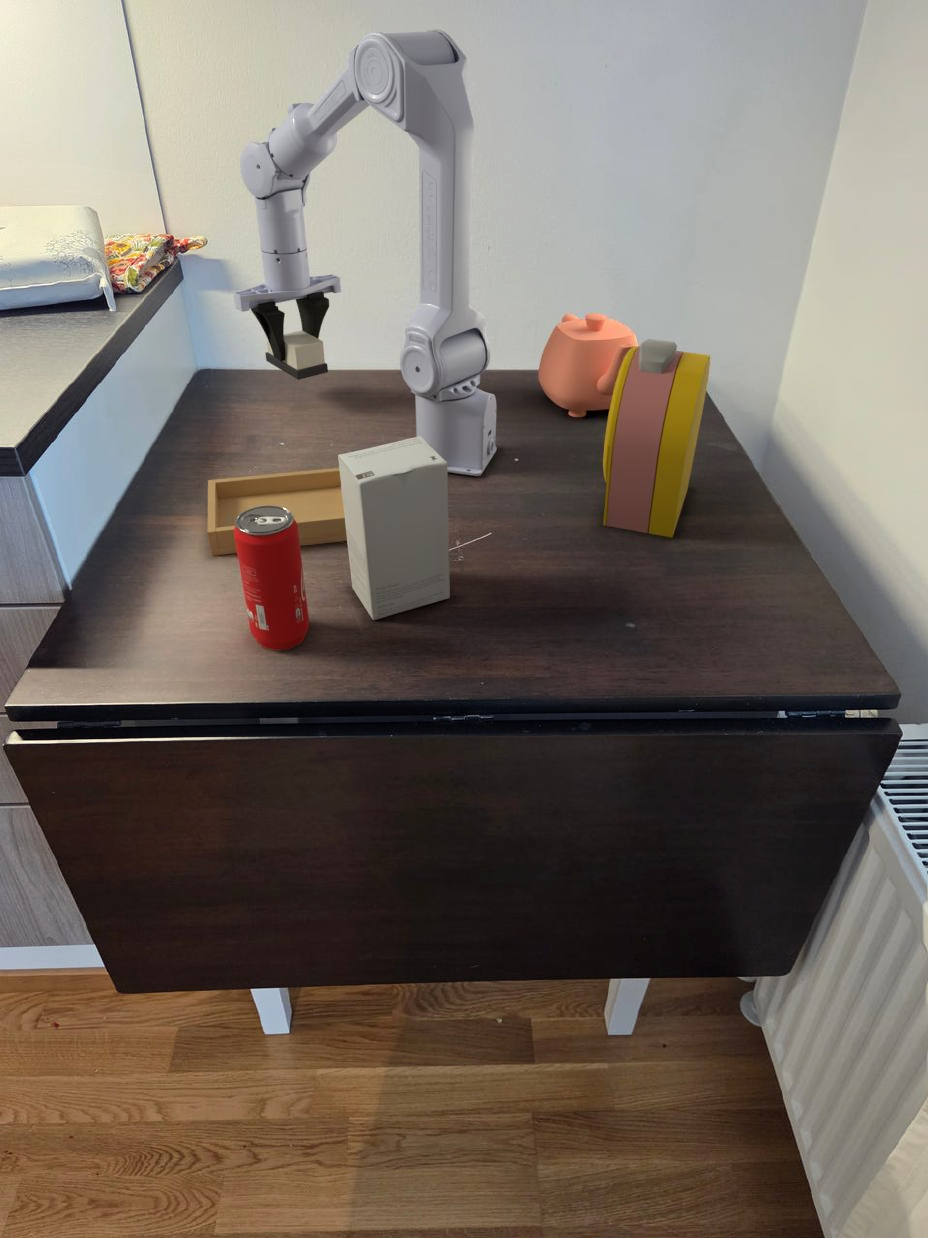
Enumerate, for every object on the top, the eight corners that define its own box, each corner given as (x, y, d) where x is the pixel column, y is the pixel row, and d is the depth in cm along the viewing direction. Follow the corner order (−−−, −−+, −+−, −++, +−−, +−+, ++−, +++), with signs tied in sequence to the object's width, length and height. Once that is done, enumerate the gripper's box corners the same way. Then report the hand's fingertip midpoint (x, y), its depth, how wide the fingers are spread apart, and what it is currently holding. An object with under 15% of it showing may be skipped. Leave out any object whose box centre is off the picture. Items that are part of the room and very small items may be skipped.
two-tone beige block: (328, 372, 117) (325, 341, 115) (298, 379, 115) (294, 348, 112) (295, 353, 123) (292, 324, 121) (266, 360, 121) (262, 330, 118)
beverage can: (255, 619, 80) (236, 504, 73) (312, 617, 81) (298, 502, 74) (248, 655, 76) (228, 536, 69) (308, 652, 76) (294, 534, 69)
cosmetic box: (426, 570, 87) (424, 432, 78) (452, 602, 83) (452, 459, 74) (347, 591, 84) (335, 449, 75) (369, 625, 80) (359, 478, 71)
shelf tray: (350, 488, 101) (348, 466, 100) (363, 539, 92) (362, 515, 90) (212, 502, 98) (207, 479, 97) (211, 555, 89) (207, 532, 88)
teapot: (575, 440, 112) (584, 346, 105) (519, 384, 128) (523, 299, 120) (667, 427, 116) (682, 336, 108) (602, 374, 131) (610, 291, 124)
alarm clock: (620, 472, 105) (640, 318, 94) (689, 483, 103) (717, 327, 92) (592, 531, 94) (611, 364, 83) (669, 545, 91) (699, 375, 81)
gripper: (317, 234, 116) (326, 336, 124) (216, 250, 109) (233, 357, 117) (345, 244, 112) (353, 349, 120) (242, 262, 104) (257, 372, 112)
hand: (295, 354), depth 118 cm, fingers closed on two-tone beige block, 4 cm apart
